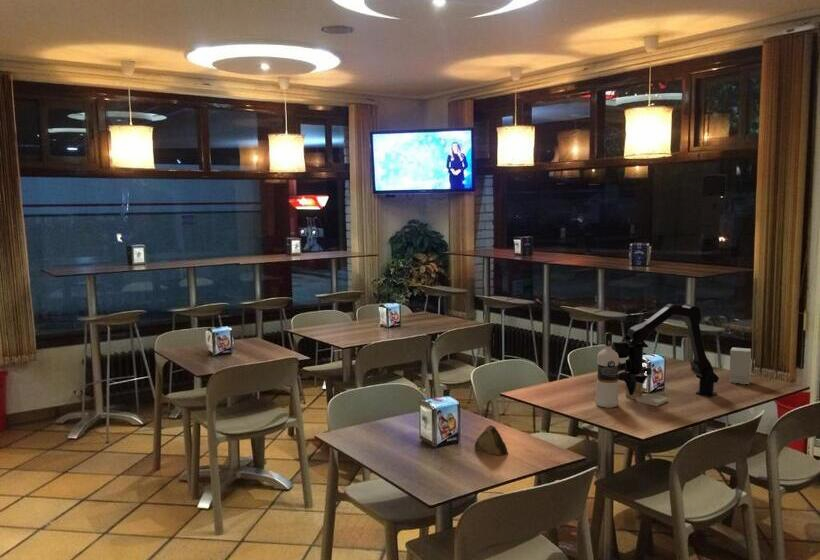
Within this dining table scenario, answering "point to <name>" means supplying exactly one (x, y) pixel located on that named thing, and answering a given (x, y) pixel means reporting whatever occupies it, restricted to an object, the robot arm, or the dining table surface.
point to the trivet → (651, 399)
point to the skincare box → (740, 365)
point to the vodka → (607, 375)
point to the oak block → (635, 391)
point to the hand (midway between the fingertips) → (634, 393)
